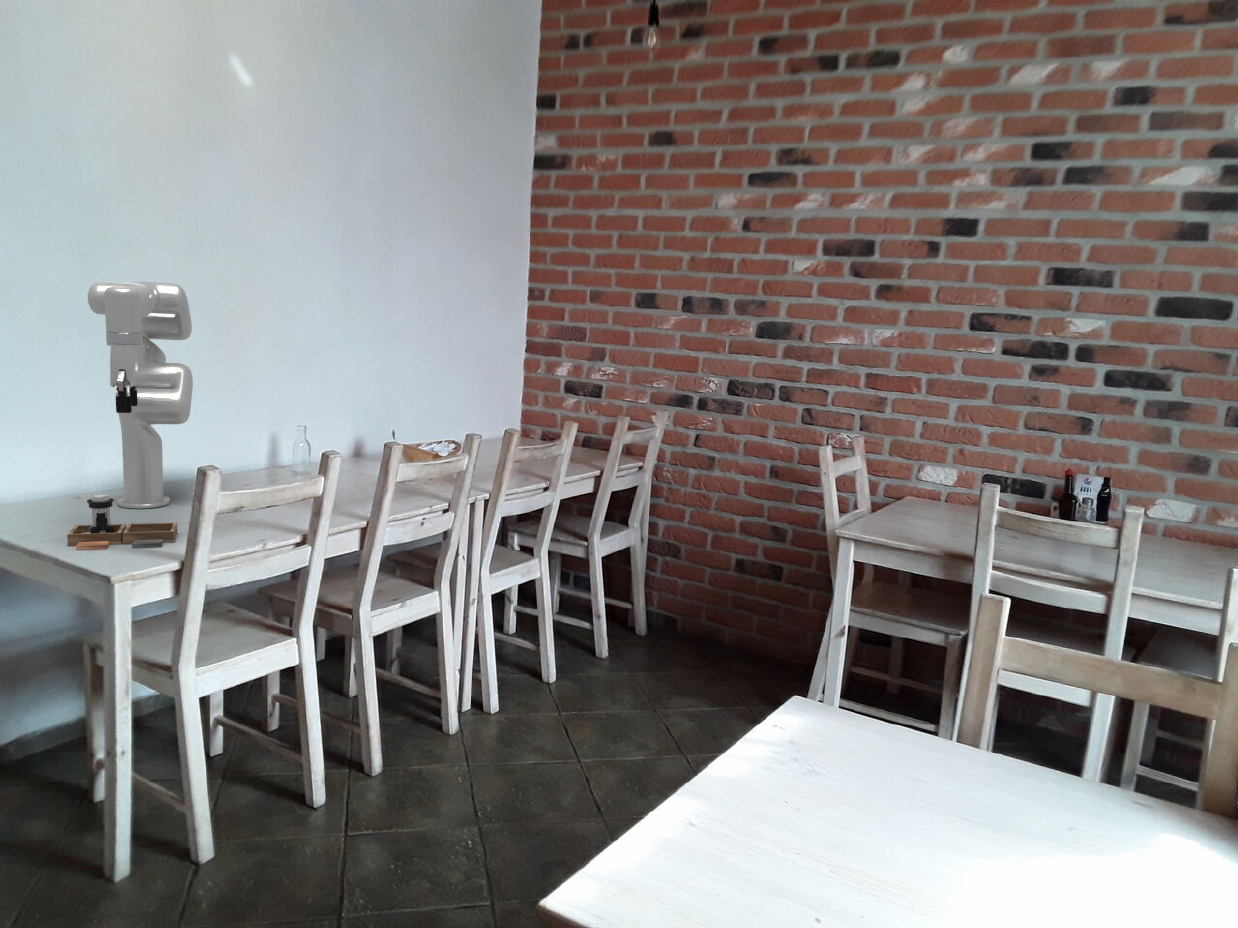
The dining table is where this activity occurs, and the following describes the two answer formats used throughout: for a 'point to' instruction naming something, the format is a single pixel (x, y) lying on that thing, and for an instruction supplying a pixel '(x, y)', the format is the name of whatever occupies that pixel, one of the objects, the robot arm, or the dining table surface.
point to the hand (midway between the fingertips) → (127, 409)
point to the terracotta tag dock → (94, 537)
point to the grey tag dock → (149, 534)
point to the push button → (100, 514)
